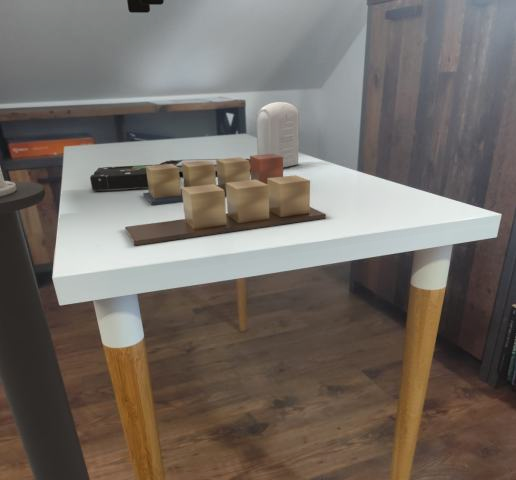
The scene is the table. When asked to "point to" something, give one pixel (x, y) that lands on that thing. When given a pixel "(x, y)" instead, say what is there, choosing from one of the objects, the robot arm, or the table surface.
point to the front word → (233, 209)
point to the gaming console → (179, 162)
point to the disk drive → (120, 178)
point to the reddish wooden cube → (266, 167)
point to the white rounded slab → (278, 131)
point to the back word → (192, 177)
